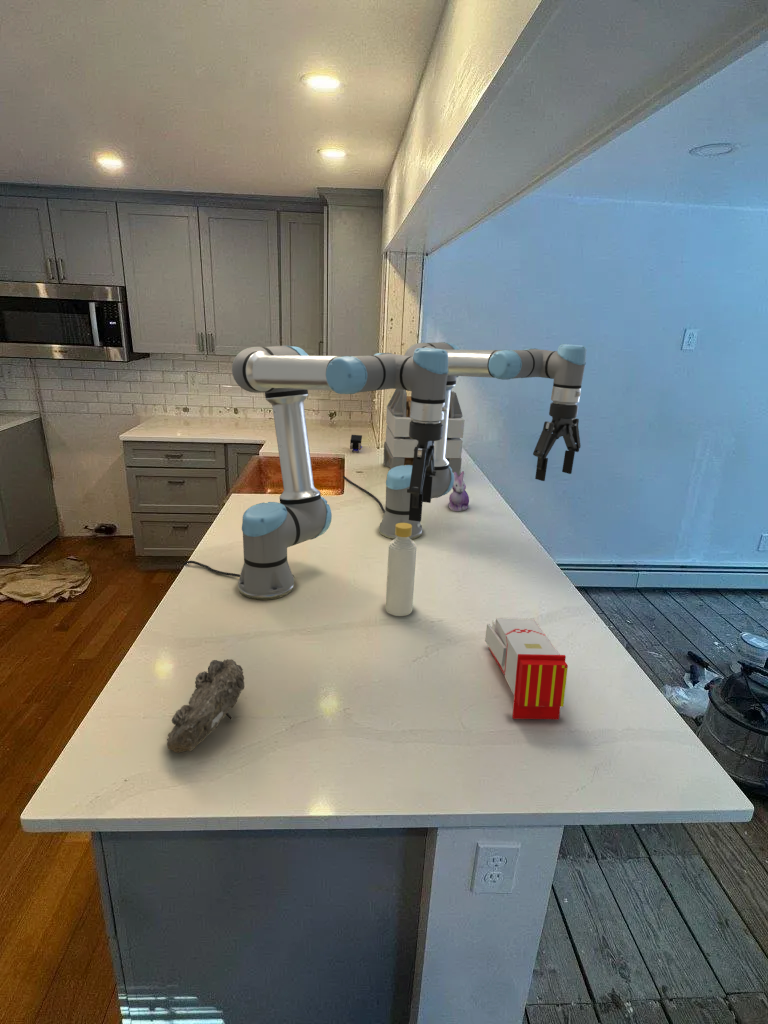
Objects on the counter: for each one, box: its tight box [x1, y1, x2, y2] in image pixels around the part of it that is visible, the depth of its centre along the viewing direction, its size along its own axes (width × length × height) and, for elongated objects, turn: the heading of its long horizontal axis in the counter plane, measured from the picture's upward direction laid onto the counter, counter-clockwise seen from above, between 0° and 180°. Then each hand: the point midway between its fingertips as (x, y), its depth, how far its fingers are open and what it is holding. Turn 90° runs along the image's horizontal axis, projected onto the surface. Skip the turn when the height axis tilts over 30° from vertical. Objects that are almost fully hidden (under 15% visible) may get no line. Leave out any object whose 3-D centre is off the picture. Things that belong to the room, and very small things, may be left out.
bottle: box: [385, 536, 418, 617], centre depth 146 cm, size 7×7×23 cm
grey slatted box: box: [383, 389, 465, 476], centre depth 268 cm, size 34×33×41 cm
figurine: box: [448, 470, 470, 512], centre depth 226 cm, size 9×10×15 cm
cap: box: [395, 523, 412, 537], centre depth 142 cm, size 4×4×2 cm
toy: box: [484, 617, 569, 720], centre depth 122 cm, size 12×13×30 cm
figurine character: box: [349, 434, 363, 453], centre depth 311 cm, size 7×8×15 cm
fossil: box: [166, 658, 245, 754], centre depth 106 cm, size 22×10×15 cm
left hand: (420, 510), depth 133 cm, fingers open, 13 cm apart
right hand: (553, 476), depth 165 cm, fingers open, 13 cm apart
